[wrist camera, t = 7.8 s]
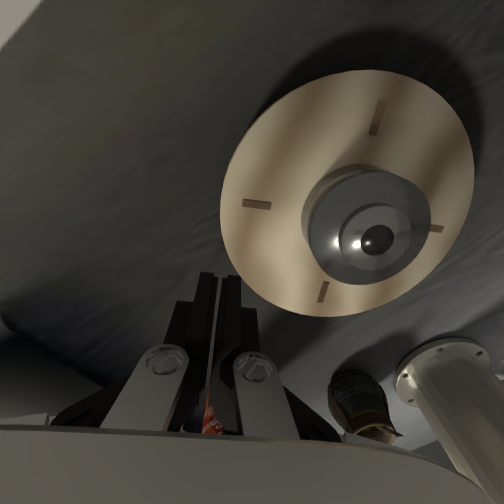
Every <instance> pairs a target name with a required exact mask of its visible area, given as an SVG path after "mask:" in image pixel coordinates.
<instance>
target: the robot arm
mask: <svg viewBox="0 0 504 504" xmlns="http://www.w3.org/2000/svg"><path fill="white" fill-rule="evenodd" d="M213 276H214V273H208V272H201V273H200V277H199V282H198V286H197V290H196V294H195V299H194V302H187V301H177V303H176V305H175V309H174V312H173V315H172V318H171V321H170V324H169V327H168V330H167V333H166V336H165V340H164V343H163V344H162V345H158V346H155V347H152V348H151V349H149V350H148V351H147V352H146V353H145V354H144V355H143V356H142V358H141V360H140V361H139V363H138V365H137V366H136V368H135V370H134V371H133V373H131V374H129V375H128V376H126V377H124V378H122V379H120V380H118V381H116V382H114V383H113V384H111V385H109V386H107V387H105V388H103V389H101V390H99V391H98V392H96V393H94V394H92V395H90V396H88V397H86V398H84V399H83V400H81V401H79V402H77V403H75V404H73V405H71V406H69V407H68V408H66V409H65V410H63V411H62V412H60V413H59V414H58V415H57V416H52V417H49V416H48V413H45V414H37V415H29V416H22V417H15V418H7V419H0V504H504V380H500V379H499V378H498V377H497V376H496V375H495V374H494V373H493V372H492V371H491V370H490V369H491V359H490V356H489V354H488V353H487V351H486V350H485V349H484V348H483V347H482V346H480V345H479V344H478V343H476V342H475V341H473V340H469V339H466V338H445V339H440V340H436V341H433V342H430V343H428V344H426V345H423V346H421V347H419V348H418V349H416V350H415V351H413V352H412V353H411V354H409V355H408V356H407V357H406V358H405V359H404V360H403V361H402V362H401V364H400V365H399V367H398V368H397V370H396V372H395V375H394V382H393V384H394V388H395V390H396V392H397V394H398V396H399V397H400V399H401V400H402V401H403V402H405V403H406V404H408V405H410V406H413V407H417V408H420V410H421V412H422V413H423V415H424V417H425V418H426V420H427V422H428V423H429V425H430V427H431V428H432V430H433V431H434V433H435V435H436V436H437V438H438V440H439V441H440V443H441V445H442V446H443V448H444V450H445V451H446V453H447V454H448V456H449V458H450V459H451V461H452V462H453V464H454V466H455V468H456V469H457V471H456V470H454V469H452V468H450V467H448V466H446V465H443V464H441V463H439V462H437V461H435V460H432V459H430V458H427V457H424V456H421V455H418V454H415V453H412V452H410V451H407V450H405V449H402V448H399V447H396V446H392V445H389V444H385V443H382V442H379V441H375V440H372V439H368V438H365V437H361V436H358V435H355V434H351V433H348V432H345V433H344V435H341V434H338V433H337V431H336V430H335V429H334V428H333V427H332V426H331V425H330V424H329V423H328V422H327V421H325V420H324V419H323V418H322V417H321V416H319V415H318V414H317V413H316V412H314V411H313V410H312V409H311V408H310V407H308V406H307V405H306V404H305V403H304V402H302V401H301V400H300V399H299V398H298V397H296V396H295V395H294V394H293V393H291V392H290V391H289V390H288V389H287V388H285V387H284V386H283V385H282V382H281V379H280V376H279V373H278V370H277V367H276V365H275V363H274V362H273V361H272V360H271V359H270V357H268V356H266V355H265V354H262V353H260V345H259V333H258V322H257V311H256V309H255V308H245V307H241V276H234V275H228V278H222V286H221V293H220V301H219V309H218V316H217V324H216V332H215V341H214V350H213V360H212V369H211V379H210V388H209V398H208V407H213V417H214V418H215V419H216V420H217V421H218V422H219V423H220V424H221V425H222V435H219V434H202V433H185V432H182V430H183V424H184V423H185V422H187V421H188V420H189V419H191V418H192V417H193V416H195V413H196V406H203V399H204V391H205V383H206V374H207V366H208V358H209V350H210V342H211V334H212V326H213V318H214V309H215V301H216V293H217V285H218V277H213Z"/></svg>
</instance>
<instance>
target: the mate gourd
mask: <svg viewBox="0 0 504 504" xmlns="http://www.w3.org/2000/svg"><path fill="white" fill-rule="evenodd" d="M328 406H329V409H330V412H331V414H332V416H333V417H334V419H335V420H336V422H337V423H338V424H339V425H340V426H341V427H342V428H343V429H344V431H345V432H348V433H351V434H355V435H358V436H361V437H365V438H368V439H372V440H375V441H379V442H382V443H385V444H389V445H391V444H392V443H393V441H394V440H395V437H396V436H397V437H399V436H403V435H401V434H399V433H397V432H396V430H395V428H394V426H393V424H392V422H391V420H390V416H389V410H388V403H387V399H386V395H385V393H384V390H383V389H382V387H381V385H379V384H378V383H377V382H376V381H375V380H373V378H372V377H371V376H370V375H368V374H366V373H364V372H360V371H346V372H343V373H341V374H339V375H338V376H336V377H335V378H334V379H332V381H331V382H330V384H329V385H328ZM403 437H404V436H403Z"/></svg>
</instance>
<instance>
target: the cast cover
mask: <svg viewBox="0 0 504 504" xmlns="http://www.w3.org/2000/svg"><path fill="white" fill-rule="evenodd" d="M430 225H431V212H430V207H429V203H428V201H427V199H426V197H425V195H424V194H423V192H422V191H421V190H420V189H419V188H418V187H417V186H416V185H415V184H414V183H412V182H411V181H409V180H407V179H405V178H402V177H400V176H398V175H396V174H393V173H391V172H389V171H387V170H384V169H382V168H380V167H378V166H374V165H371V164H352V165H347V166H344V167H341V168H338V169H336V170H334V171H332V172H331V173H329V174H327V175H326V176H325V177H323V178H322V179H321V180H320V181H319V182H318V183H317V184H316V185H315V186H314V187H313V189H312V190H311V191H310V193H309V195H308V196H307V198H306V200H305V203H304V206H303V209H302V214H301V229H302V233H303V236H304V239H305V240H306V242H307V244H308V246H309V248H310V250H311V252H312V254H313V256H314V258H315V260H316V261H317V263H318V265H319V266H320V268H321V269H322V270H323V271H324V272H325V273H326V274H327V275H328V276H330V277H331V278H333V279H335V280H337V281H339V282H342V283H345V284H350V285H368V284H374V283H378V282H381V281H383V280H386V279H388V278H390V277H392V276H394V275H396V274H397V273H399V272H401V271H402V270H403V269H405V268H406V267H407V266H408V265H409V264H410V263H411V262H412V261H413V260H414V259H415V258H416V257H417V255H418V254H419V253H420V251H421V250H422V248H423V246H424V244H425V242H426V240H427V238H428V234H429V231H430Z"/></svg>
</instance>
